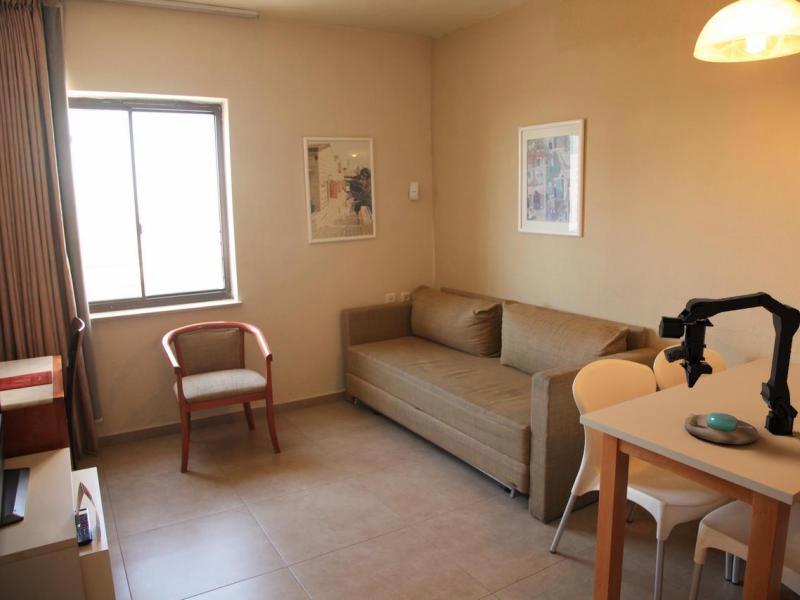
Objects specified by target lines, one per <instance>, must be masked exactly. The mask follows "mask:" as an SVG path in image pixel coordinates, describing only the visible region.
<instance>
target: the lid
mask: <svg viewBox="0 0 800 600" xmlns="http://www.w3.org/2000/svg"><path fill="white" fill-rule="evenodd" d="M707 415H708V417H707V426H708V427H710V428H712V429H714V430H718V431H724V432H732V431H735V430H736V425H737V419H738V418H737V417H736V416H733V415H731V414H728V413H724V412H710V413H708V414H707Z"/></svg>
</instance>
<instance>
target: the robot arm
mask: <svg viewBox="0 0 800 600" xmlns="http://www.w3.org/2000/svg"><path fill="white" fill-rule="evenodd" d="M760 307H762V308H764V309H765V310H766V311H767V312H769V313H771V315H772V325H773V328H774V332H775V333H774V334H775V336H774V346H773V354H772V361H771V367H770V377H769V379H768V380H767V382H764V381H763V382H761V391H760V393H759V395H760V396H761V398H762V401H764V402H763V403H765V404H766V405H767V408H768V409H769V410H768V413H767V415H766V416H765V425H764V429H765V430H766V431H767V432H768V433H770V434H771V435H772V434H773V435H772V436H783V435H793V434H794V435H795V436H796V434H795V433H794V432H793V431H794V423H795V419H796V418H797V416H798V414H799V412H798V410H797V409H795V407H794V406H793V405H792V404H791V392H790V387H789V383H788V377H789V371H790V361H791V354H792V348H793V339H794V336H795V335H796V333H797V332H798V330H799V328H800V310H799V309H798V308H796V307H793V306H791V305H788V304H787V303H786V304H784V303H782V302H780V301H779V300H777V299H775V298H774V297H772V295H770V294H769V293H767V292H764V291H757V292H755V293H749V294H741V295H735V296H728V297H724V298H723V297H722V298H709V297H707V298H706V297H704V298H703V297H695V298H694V297H693V298H691V299H689V300H688V301H687V302H686V303H685V307H684V308H683V310H682V311H680V312H679V314H678V315H677V317H674V316H673V317H672V316H666V315H663V316H661V319H660V322H659V324H658V336H659V339H672V340H673V339H674V340H675V339H676V340H677V339H678V340H680V339H681V338H683V337H684V340H682V341H680V345H677V346H672V347H669V348H665V349H664V350H663V354H664V359H665V360H666V361H667V362H668V363H669V364H672V363H675V362H677V361H680V360H682V361H681V362H679V365H680V366H681V367H682V369H684V372H685V378H686V383H687V388H689V389H694V386H695V384H697V382H698V380H699V379H700V377H701V376H702V375H712V374H713V369H714V367H712V366H711V365H710V364H709V363H708V362H707V361H706V357H705V356H704V353H705V349H707V344H706V343H705V342H706V331H707V327H709V328H712V327H714V326H715V325H714V324H713V323H712V322H711V320H710V318H713V317H714V316H716V315H718V314H721V313H726V312H733V311H739V310H748V309H753V308H754V309H755V308H760Z"/></svg>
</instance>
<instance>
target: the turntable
mask: <svg viewBox="0 0 800 600" xmlns="http://www.w3.org/2000/svg"><path fill="white" fill-rule="evenodd" d="M707 417H708V414H695V413H690V414H689V416H688V417H686V418H685V419H684V428H685V430H686V431H687V432H688V433H690V434H692V435H693V436H695V437H698V438H701V439H703V440H707V441H711V442H715V443H720V444H726V445H727V444H728V445H729V444H730V445H746V444H751V443H754V442H756V441H757V440H758V437H759V436H758V435H759V431H758V429H757V428H756V427H755V426H753V425H752V424H750V423H748V422H745V421H743V420H740V419H738V418H737V425H736V430H735V431H732V432H724V431H718V430H714V429H712V428H710V427H708V426H707Z"/></svg>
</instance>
